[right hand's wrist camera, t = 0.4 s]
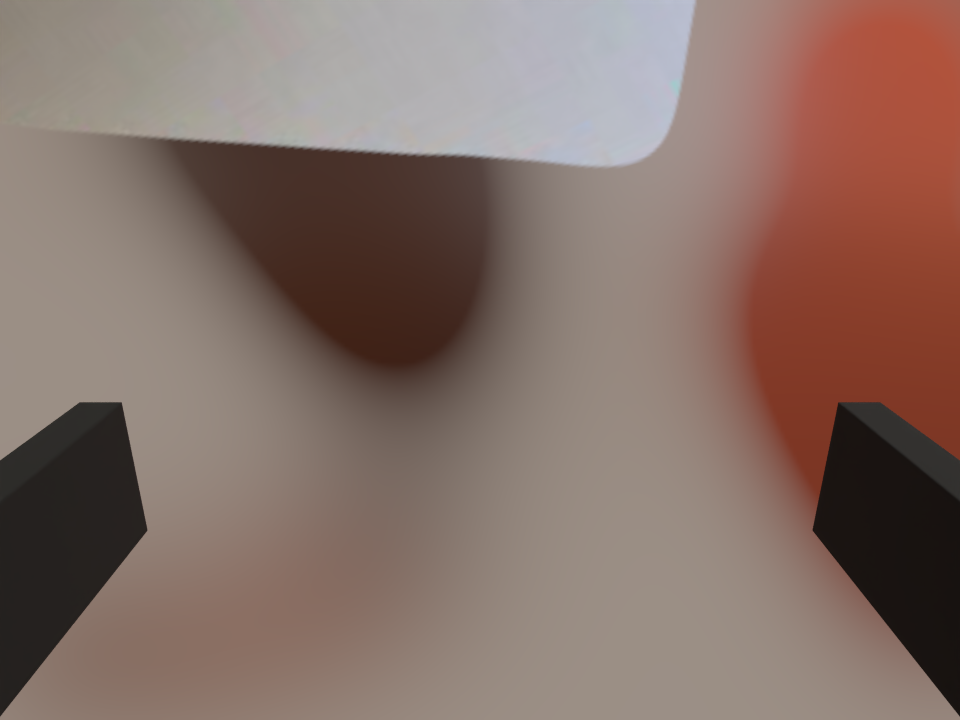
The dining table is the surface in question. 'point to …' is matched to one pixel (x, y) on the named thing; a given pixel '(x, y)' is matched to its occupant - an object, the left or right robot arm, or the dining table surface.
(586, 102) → the dining table surface
